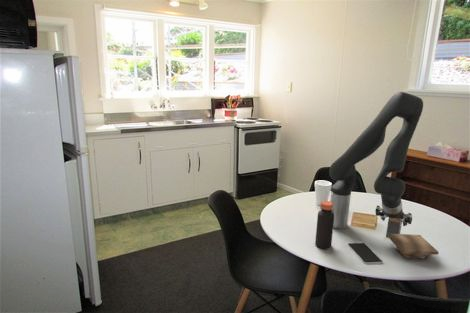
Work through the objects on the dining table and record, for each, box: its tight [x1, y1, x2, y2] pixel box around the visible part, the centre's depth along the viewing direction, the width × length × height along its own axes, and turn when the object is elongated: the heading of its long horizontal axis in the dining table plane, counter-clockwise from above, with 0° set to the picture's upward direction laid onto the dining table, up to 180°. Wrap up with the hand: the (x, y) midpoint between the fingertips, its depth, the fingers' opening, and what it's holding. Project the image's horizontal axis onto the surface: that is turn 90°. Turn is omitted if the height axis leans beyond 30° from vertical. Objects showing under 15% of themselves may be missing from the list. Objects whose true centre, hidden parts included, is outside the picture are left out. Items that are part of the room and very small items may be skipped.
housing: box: [385, 217, 403, 238], centre depth 143 cm, size 5×5×10 cm
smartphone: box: [347, 242, 383, 265], centre depth 130 cm, size 8×1×15 cm
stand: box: [387, 233, 440, 259], centre depth 130 cm, size 14×14×5 cm
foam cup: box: [314, 179, 333, 207], centre depth 180 cm, size 10×9×13 cm
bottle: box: [314, 200, 334, 250], centre depth 133 cm, size 7×7×20 cm
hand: (394, 221), depth 140 cm, fingers open, 8 cm apart
